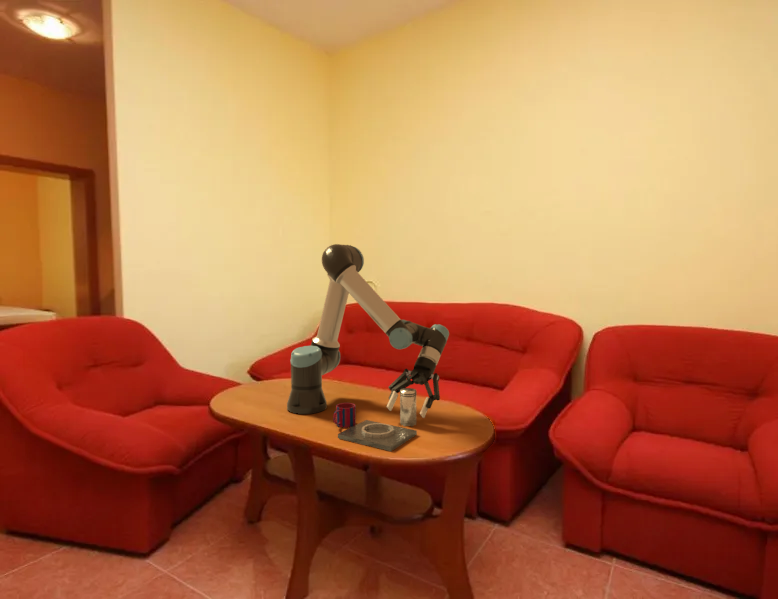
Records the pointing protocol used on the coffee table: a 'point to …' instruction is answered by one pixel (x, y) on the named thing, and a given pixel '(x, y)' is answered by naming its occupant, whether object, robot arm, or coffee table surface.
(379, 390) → the coffee table surface
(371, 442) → the grey base plate
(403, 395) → the disc
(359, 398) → the coffee table surface
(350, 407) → the mug
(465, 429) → the coffee table surface
